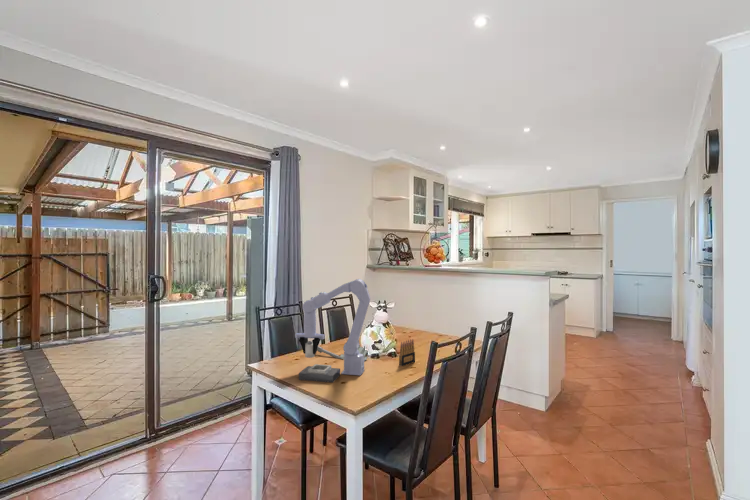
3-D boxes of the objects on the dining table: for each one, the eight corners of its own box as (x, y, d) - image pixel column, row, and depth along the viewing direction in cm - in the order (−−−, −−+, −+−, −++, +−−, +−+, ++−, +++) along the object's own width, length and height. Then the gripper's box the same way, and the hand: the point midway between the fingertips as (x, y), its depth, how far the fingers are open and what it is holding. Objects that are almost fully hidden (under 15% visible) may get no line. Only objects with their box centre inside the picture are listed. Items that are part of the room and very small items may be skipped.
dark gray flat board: (340, 375, 166) (340, 365, 166) (333, 382, 156) (333, 372, 156) (307, 372, 169) (307, 362, 169) (298, 379, 159) (298, 369, 159)
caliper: (311, 353, 202) (311, 342, 202) (312, 353, 203) (312, 342, 203) (340, 359, 191) (340, 347, 191) (341, 358, 192) (341, 347, 192)
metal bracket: (347, 342, 203) (372, 344, 199) (348, 351, 205) (373, 353, 201) (338, 355, 190) (365, 358, 186) (339, 365, 192) (365, 368, 187)
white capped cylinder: (315, 355, 173) (315, 340, 174) (312, 357, 169) (312, 343, 169) (307, 354, 174) (307, 340, 174) (303, 357, 170) (303, 342, 170)
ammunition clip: (412, 360, 188) (412, 338, 188) (415, 361, 187) (415, 338, 187) (399, 365, 181) (399, 341, 181) (401, 366, 179) (401, 342, 180)
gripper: (327, 324, 174) (327, 352, 174) (299, 322, 177) (299, 350, 177) (321, 326, 167) (321, 356, 167) (293, 325, 170) (293, 354, 170)
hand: (309, 353), depth 172 cm, fingers closed on white capped cylinder, 4 cm apart
